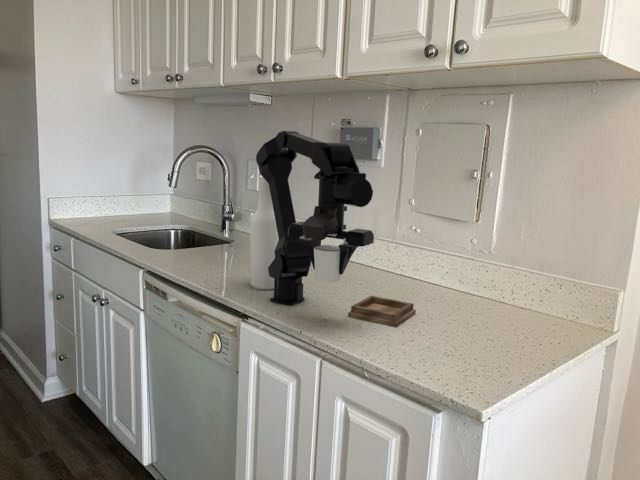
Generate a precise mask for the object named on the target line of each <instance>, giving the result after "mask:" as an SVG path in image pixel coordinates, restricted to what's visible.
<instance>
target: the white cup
mask: <svg viewBox="0 0 640 480" xmlns="http://www.w3.org/2000/svg"><path fill="white" fill-rule="evenodd" d="M314 262H315V270H314V278H315V280H317V281H319V282H325V283H326V282H327V283H334V282H340V281H341V279H342V274H339V263H340V249H339V245H331V244H330V245H329V244H327V245H322V244H321V246H316V247H314Z"/></svg>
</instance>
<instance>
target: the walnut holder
mask: <svg viewBox="0 0 640 480" xmlns="http://www.w3.org/2000/svg"><path fill="white" fill-rule="evenodd" d="M416 311H417V310H416V309H414V303H412V302H406V301H401V300H398V299H390V298H386V297H381V296H375V295H370V296H368V297H366V298H364V299H363V300H361V301H358V302H356V303H355V304H353V305H351V308H350V311H348V312H347V317H348V318H350V319H351V318H352V319H356V320H362V321H366V322H369V323H370V322H371V323H375V324H380V325H385V326H388V327H393V328H398V327H399V326H400V325H402V324H404V323H405V322H406V321H408V320H409V319H411V318H412V317H414V316H415V315H416Z"/></svg>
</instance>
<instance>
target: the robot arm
mask: <svg viewBox="0 0 640 480" xmlns="http://www.w3.org/2000/svg"><path fill="white" fill-rule="evenodd" d="M299 154H300V155H301V156H304V157H307V158H309V159H310V161H311V163H312V164H313V165H314V166H315V167H316V168H318V169H319V170H318V171H317V172H316V173H315V175H313V178H314V180H318V199H317V200H318V201H317V205H315V206H314V209H313V210H314V211H313V215H311V216H309V217H308V218H307V219H306V220H304V221H298V222H297V221H296V214H295V211H294V205H293V200H292V194H291V193H292V192H291V189H290V184H289V177H290V175H291V172H292V170H293V166H292V165H293V164H292V163H293V162H294V161H295V160H296V158H297V155H299ZM255 160H256V164H257V166H258V170H259V174H260V176H261V175H262V177H263V178H264V179H265V180H266V181H267V182H268V184H269V188H270V194H271V199H272V205H273V210H274V216H275V221H276V226H277V232H278V237H279V240H278V243H277V245H276V248H275V259H274V260H273V262H272V263H271V264H270V266H269V267H268V271H269V276H270V277H272V278H274V289H273V297H270V299H269V300H270V302H273V303H274V302H275V303H279V304H283V305H288V306H294V305H295V304H297V303H300V302H302V301H304V300H305V299H306V298H305V297H304V283H303V277H304V278H306V277H308V276H309V275H308V274H309V271H310V268H311V265H312V268H313V270H314V271H315V262H314V247H316V246H321V245H322V241H323V240H324V241H325V239H326V238H329V239H337V240H343V243H342V244H338V246H339V249H340V263H339V274H341V275H343V274H344V272H345V270H346V268H347V266H348V264H349V262H350V261H351V258H352V256H353V254H354V253H355V251H356V250H357V248H358V247H366V246H369V245H372V244H374V243H375V242H374V239H375V235H374V232H373V231H372V230H370V229H363V228H355V229H351V230H346V229H347V224H344V223H345V221H344V220H345V212H347V211H348V206H352V207H358V208H364V207H366V206H367V205H369V204H370V202H371V201H372V199H373V196H374V190H373V188H372V187H373V186H372V184H371V182H370V181H369V180H367V174H366V173H365V172H360V170H359V169H360V167H359V166H358V165H357V162H356V160H355V156H354V155H353V152H352V150H351V146H350V145H349V144H347V143H345V142H323V141H321V140H318V139H315V138H312V137H309V136H308V135H304V134H301V133H300V132H297V131H294V130H293V131H292V130H291V131H290V130H281V131H279V132H278V133H277V134H276V136H275V137H273V138H271V139H269V140H268V141H266V142H264V143H263V145H262V146H261V148H260V149H258V152H257V153H256V157H255Z"/></svg>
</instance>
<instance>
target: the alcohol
mask: <svg viewBox="0 0 640 480" xmlns="http://www.w3.org/2000/svg"><path fill="white" fill-rule="evenodd" d="M258 178H259V181H258V182H259V189H258V201H257V202H258V204H257V208H256V211H255V212H254V213H253V215H252V216H251V218H250V222H249V272H250V273H249V274H250V275H249V284H250V285H251V287H252V288H253V289H256V290H265V291H267V290H270V291H271V290H274V278H272V277H270V276H269V271H268V267H269V266H270V264H271V263H272V262H273V260H274V259H275V248H276V245H277V243H278V240H279V237H278V232H277V226H276V221H275V216H274V210H273V205H272V199H271V194H270V188H269V184H268V182H267V181H266V180H265V179H264V178H263V177H262V175H261V174H260V175H259V177H258Z"/></svg>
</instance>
